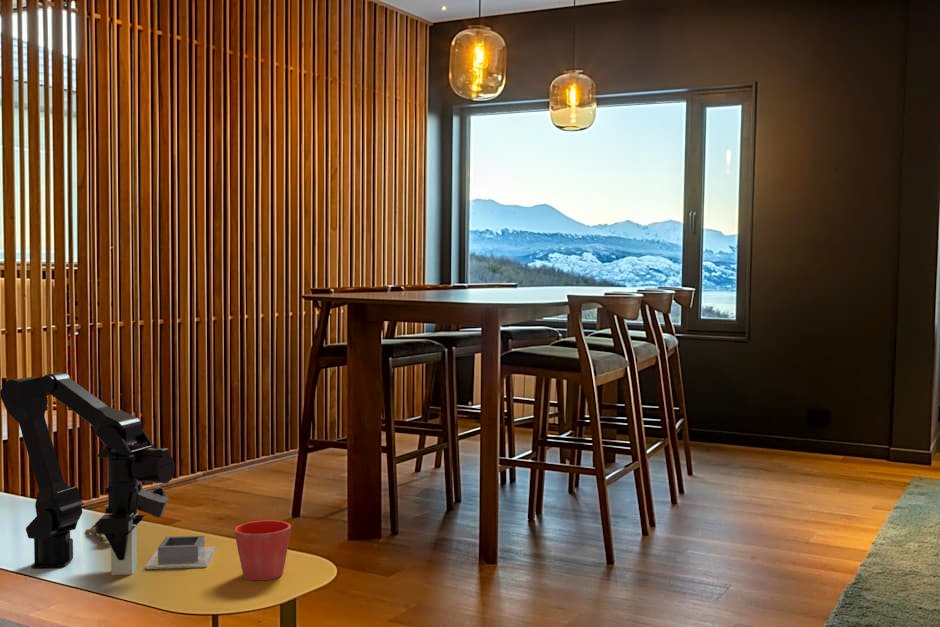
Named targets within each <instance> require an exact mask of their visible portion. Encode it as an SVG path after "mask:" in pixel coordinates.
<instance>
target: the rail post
mask: <svg viewBox="0 0 940 627" xmlns="http://www.w3.org/2000/svg"><path fill="white" fill-rule="evenodd" d="M132 526H136V527H135V528H134V529H133V530H132V531H131V532H130V533H129V534H128V540H127V546H126V553H125V558H124V560H118V558H117V557H116V555H115V553H114V551H113V549H112V547H111V546H110V553H111V554H110V562H111V564H110V568H111V570H110V571H111V572H110V573H111V576H121V575H124V576H125V575H133V574H134V573H135V571H137V569H138V556H137V554H138V548H137V547H138V546H137V545H138V543H137V542H138V540H137V539H138V538H137V536H138V535H137V534H138V532H137V531H138V530H137V525H136V524H135V525H132Z"/></svg>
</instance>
